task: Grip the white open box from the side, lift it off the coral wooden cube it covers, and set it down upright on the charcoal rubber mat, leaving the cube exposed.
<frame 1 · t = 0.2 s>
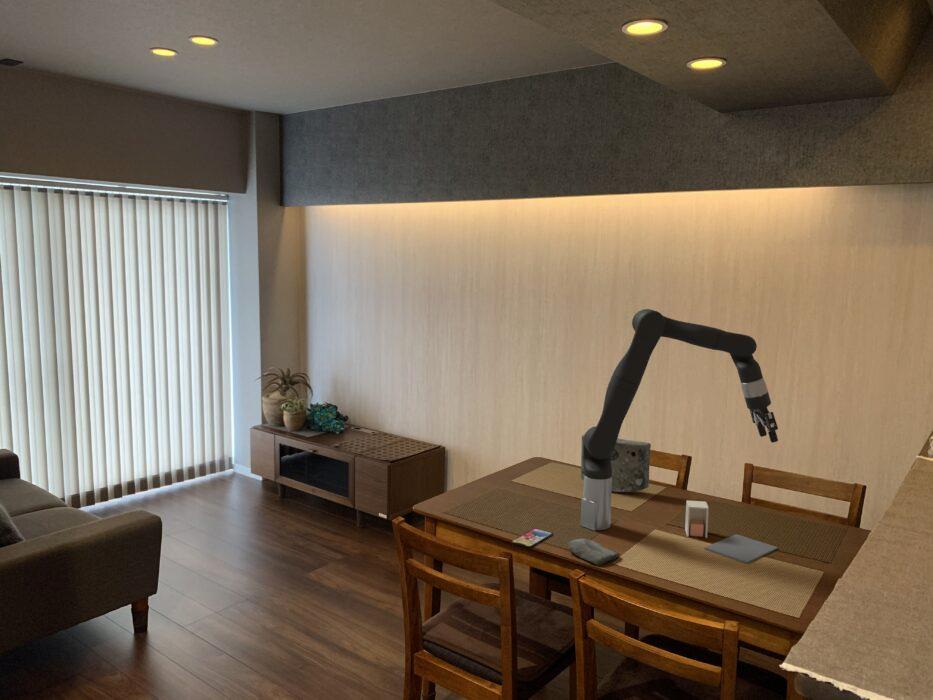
hand: (769, 438, 239), 30 cm above the table, tool tilted 20°, fingers open, 8 cm apart
white open box: (695, 533, 237), on the table
cube: (695, 534, 237), on the table
mat: (741, 548, 224), on the table
smartphone: (532, 540, 232), on the table
stone: (590, 556, 219), on the table
concrete block: (612, 489, 282), on the table
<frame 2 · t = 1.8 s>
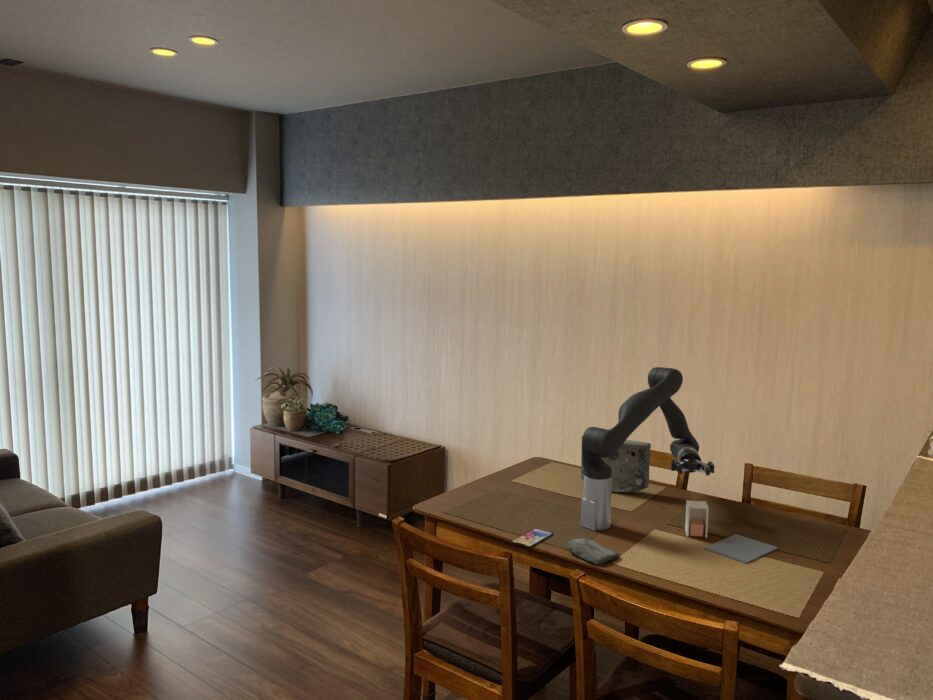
hand: (694, 472, 246), 17 cm above the table, tool horizontal, fingers open, 8 cm apart
nothing on the table moved.
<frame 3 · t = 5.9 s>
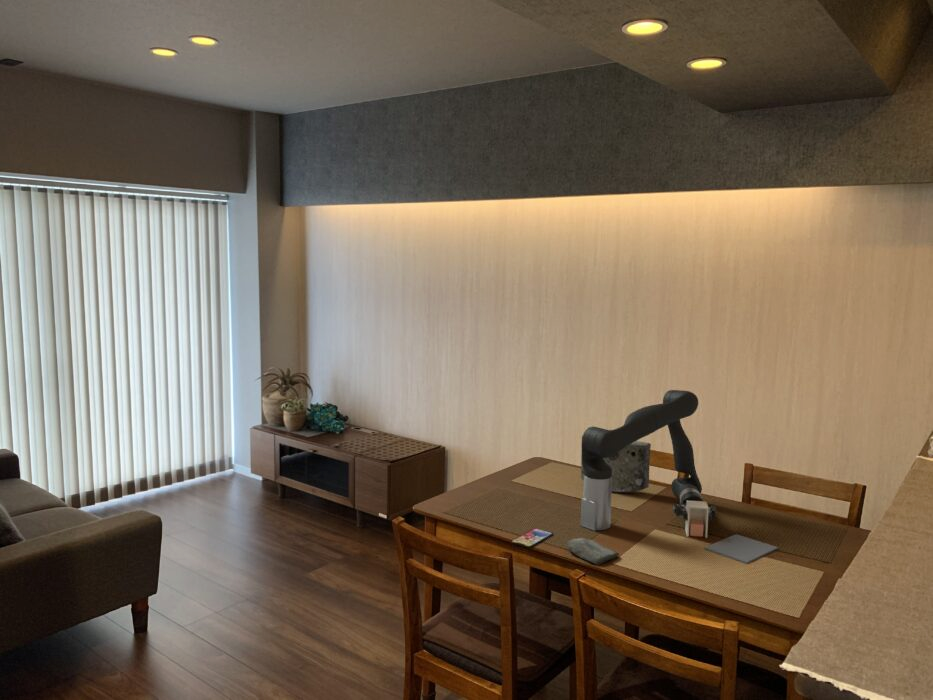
hand: (697, 518, 234), 6 cm above the table, tool horizontal, fingers closed on white open box, 6 cm apart
white open box: (695, 533, 237), on the table, touching gripper
everything else where it was.
when the fingers open (8 cm above the table, at t = 12.2 s): white open box drops 1 cm, resting on mat.
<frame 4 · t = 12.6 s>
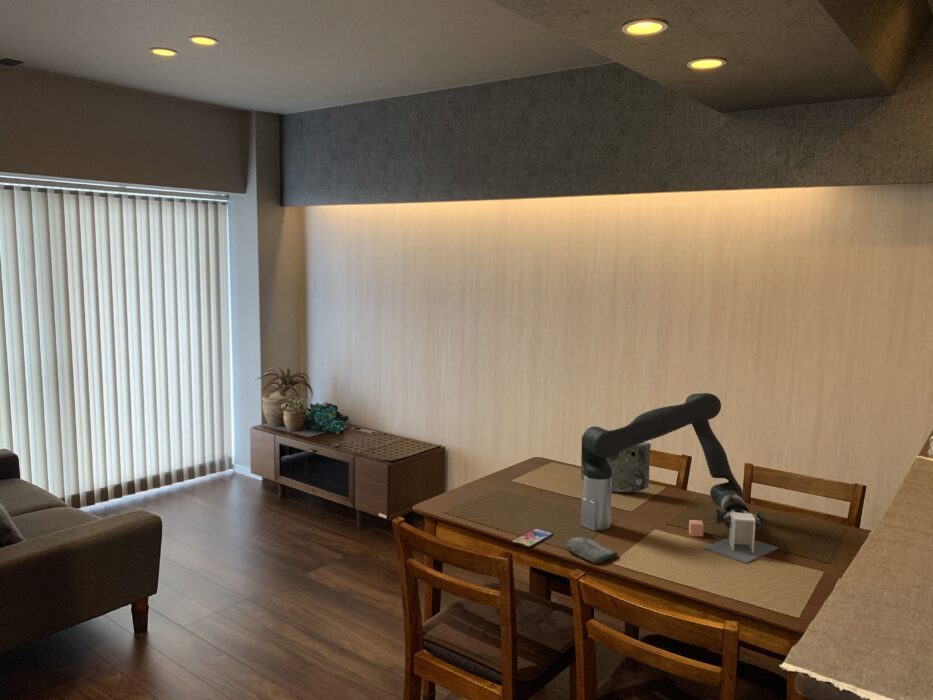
hand: (743, 526, 222), 8 cm above the table, tool horizontal, fingers open, 8 cm apart
white open box: (741, 547, 224), resting on mat
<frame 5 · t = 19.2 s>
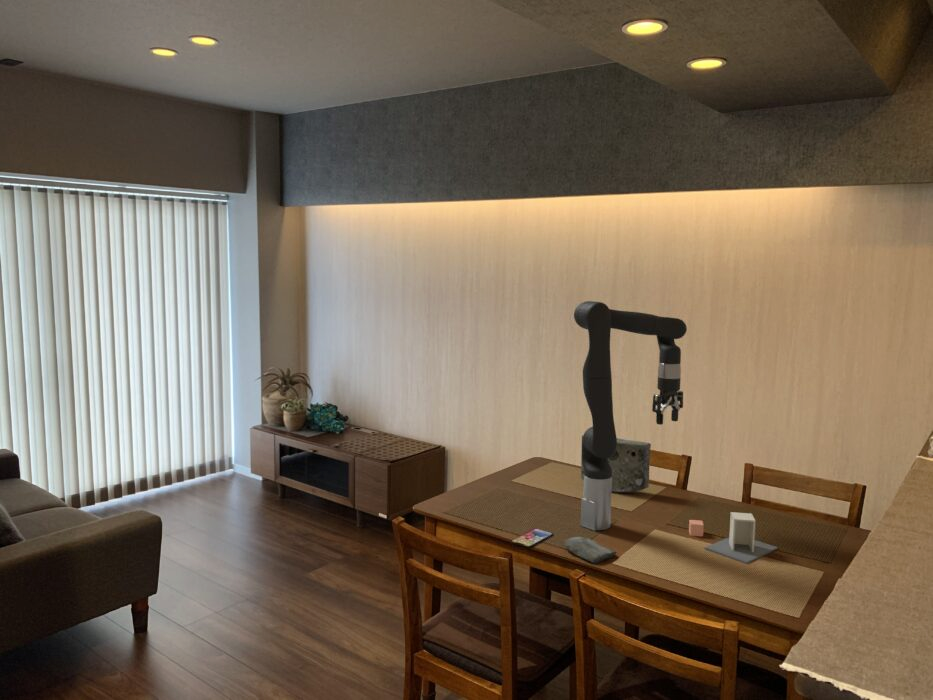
hand: (667, 422, 250), 33 cm above the table, tool pointing down, fingers open, 8 cm apart
at the end: white open box inside the target area on the mat (0.0 cm from its centre), point 0.5 cm above the mat's base; white open box tilted 0°; cube moved 0.1 cm from its start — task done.
